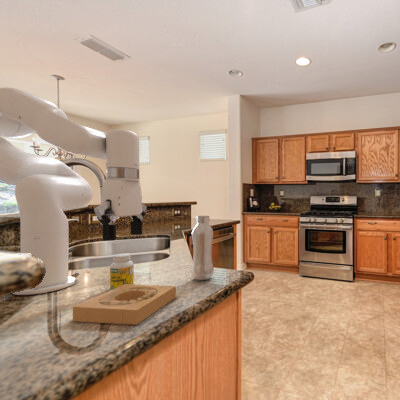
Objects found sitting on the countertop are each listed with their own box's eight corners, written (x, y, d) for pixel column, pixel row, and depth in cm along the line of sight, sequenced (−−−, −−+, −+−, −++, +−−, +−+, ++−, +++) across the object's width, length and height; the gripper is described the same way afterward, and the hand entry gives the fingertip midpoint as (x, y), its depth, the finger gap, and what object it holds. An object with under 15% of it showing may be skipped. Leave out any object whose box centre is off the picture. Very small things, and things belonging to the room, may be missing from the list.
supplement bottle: (136, 285, 74) (137, 252, 74) (128, 292, 68) (129, 256, 68) (115, 286, 72) (116, 253, 72) (105, 293, 67) (106, 257, 67)
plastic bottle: (206, 283, 76) (207, 217, 76) (186, 281, 78) (187, 216, 77) (217, 276, 83) (218, 215, 82) (199, 275, 84) (199, 215, 84)
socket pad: (72, 321, 52) (72, 306, 52) (124, 295, 66) (124, 284, 66) (136, 324, 51) (136, 310, 51) (175, 297, 65) (175, 286, 65)
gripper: (133, 178, 79) (133, 232, 79) (81, 172, 62) (82, 242, 62) (156, 178, 79) (156, 233, 79) (110, 172, 61) (111, 242, 61)
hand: (123, 237), depth 70 cm, fingers open, 9 cm apart
